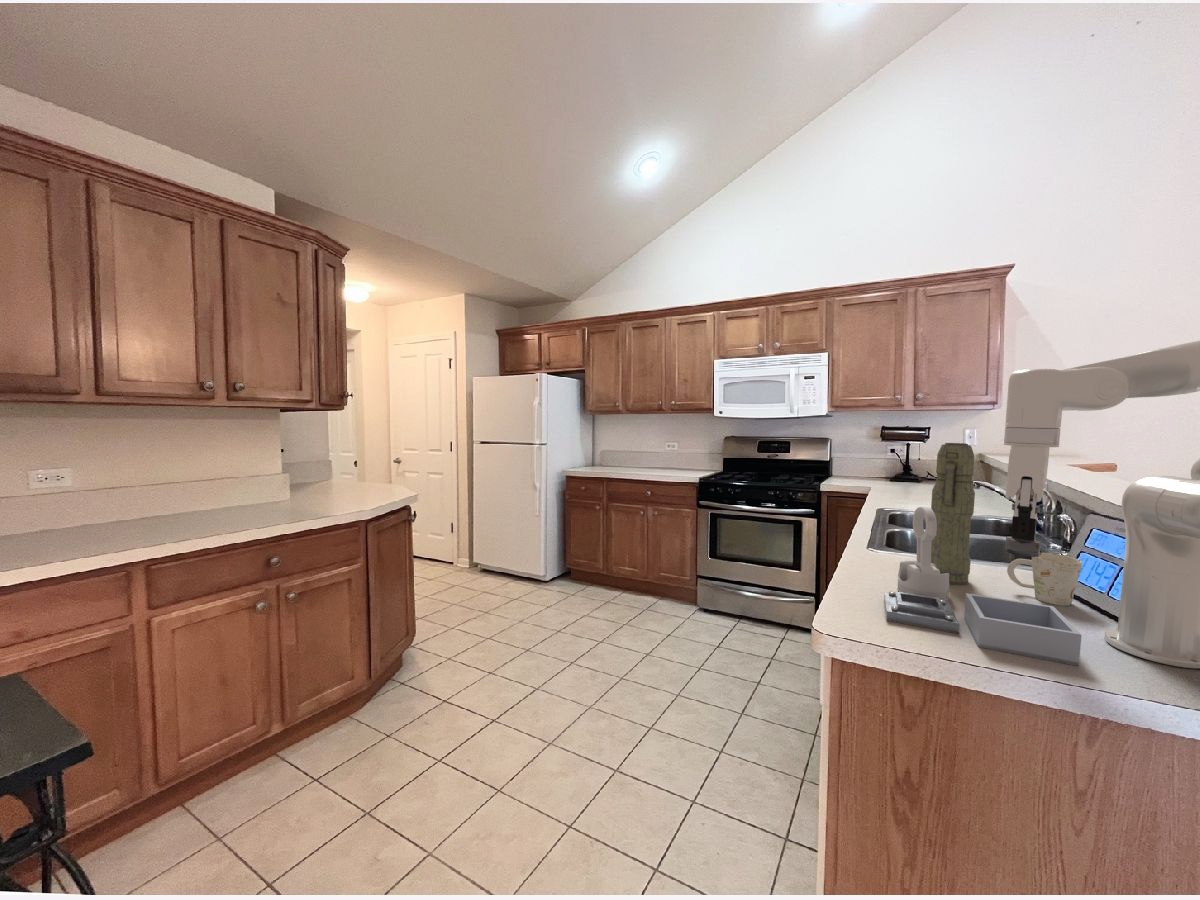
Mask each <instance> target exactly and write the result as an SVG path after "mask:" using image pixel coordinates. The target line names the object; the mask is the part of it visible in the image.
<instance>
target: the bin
mask: <svg viewBox="0 0 1200 900" xmlns="http://www.w3.org/2000/svg"><path fill="white" fill-rule="evenodd" d="M964 598H965V601H964V614H963V620H964V622H965V624H966V626H967V627H968V630H969V632H970V634H971V636H972V638H973V640H974V643H975V644H976V646H977V647H978V648H982V649H987V650H992V651H993V650H994V651H997V652H1003V653H1008V654H1013V655H1019V656H1024V657H1029V658H1034V659H1039V660H1044V661H1050V662H1056V663H1060V664H1067V665H1071V666H1075V667H1079V665H1080V657H1081V647H1082V646H1081V644H1082V633H1081V632H1080V631H1079V630H1078V629H1077V628H1076V627H1075V626H1074V625H1073V624H1071V622H1070V621H1069V620H1068V619H1067V618H1066V617H1065V616H1063V614H1061V613H1060V611H1058V610H1057V608H1055V607H1054V606H1053V605H1046V604H1039V603H1034V602H1033V603H1032V602H1027V601H1021V600H1020V601H1019V600H1014V599H1008V598H1007V599H1006V598H1000V597H995V596H993V597H992V596H986V595H979V594H974V593H967V592H966V593H965V597H964Z"/></svg>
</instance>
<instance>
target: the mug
mask: <svg viewBox="0 0 1200 900" xmlns="http://www.w3.org/2000/svg"><path fill="white" fill-rule="evenodd" d="M1020 565H1027V566H1031V567H1032V577H1033V584H1028V583H1023V582H1022V581H1021V580H1019V579H1018V578H1017V577H1016V574H1015V569H1016V568H1017V567H1018V566H1020ZM1082 567H1083V561H1081V559H1079V558H1075V557H1072V556H1068V555H1064V554H1063V555H1062V554H1058V553H1049V552H1040V556H1039V557H1031V559H1025V558H1016V559H1014V560H1013V561H1011V562H1010V563H1009V564H1008V566H1007V569H1006V570H1007V571H1006V573H1007V575H1008V578H1009V579H1010V580H1011V581H1012V582H1013V583H1015V584H1016V585H1018V586H1019V587H1022V588H1025V589H1032V590H1034V597H1035V599H1036V600H1039V601H1040V602H1043V603H1046V604H1051V605H1056V606H1068V607H1069V606H1070V605H1072V603H1073V598H1074V595H1075V592H1076V589H1077V584H1078V581H1079V578H1080V574H1081V569H1082Z"/></svg>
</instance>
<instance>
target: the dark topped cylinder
mask: <svg viewBox="0 0 1200 900" xmlns="http://www.w3.org/2000/svg"><path fill="white" fill-rule="evenodd" d="M1019 504H1020V503H1019ZM1029 505H1031V504H1029ZM1031 506H1032V505H1031ZM1011 510H1012V511H1013V515H1012V517H1013V516H1014V513H1015V502H1014V503H1012V504H1011ZM1038 513H1040V505H1037V504H1036V506H1035V517H1034V519H1037V518H1038ZM1030 518H1031V516H1030ZM1037 520H1038V519H1037ZM1036 529H1037V528H1036ZM1036 529H1035V531H1036ZM1041 543H1042V542H1041V541H1039V540H1037V539H1036V538H1035V539H1034V540H1033V541H1029V540H1022V539H1015V538H1012V537H1011V536H1006V537H1005V545H1004V546H1005V550H1004V552H1005V553H1008V554H1010V555H1013V556H1014V555H1015V556H1019V557H1027V558H1028V557H1029V558H1032V557H1039V556H1040V553H1041Z"/></svg>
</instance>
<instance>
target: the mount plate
mask: <svg viewBox="0 0 1200 900" xmlns="http://www.w3.org/2000/svg"><path fill="white" fill-rule="evenodd" d="M883 604H885V605H884V610H885V618H886V621H888V622H893V623H898V624H902V625H903V624H904V625H909V626H915V627H920V628H924V629H930V630H935V631H937V630H938V631H943V632H948V633H953V634H959V633H960V632H959V630H960V622H959V619H958V617H957V615H956V613H955V612H954V609H953V607H952V605H951V603H950V601H945V600H941V599H940V598H935V597H928V596H922V595H916V594H909V593H903V592H898V590H896V591H895V592H894V591H889V592H886V591H885V592H884V595H883Z"/></svg>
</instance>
